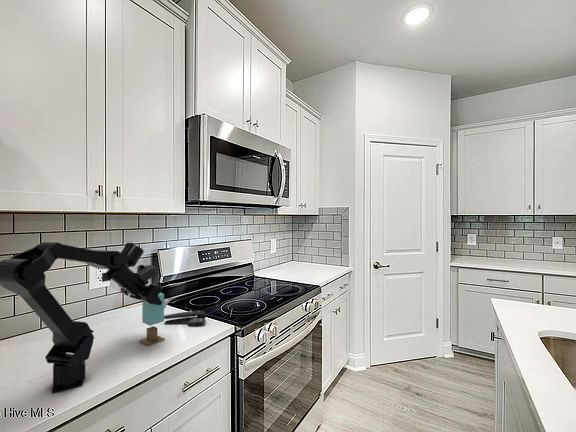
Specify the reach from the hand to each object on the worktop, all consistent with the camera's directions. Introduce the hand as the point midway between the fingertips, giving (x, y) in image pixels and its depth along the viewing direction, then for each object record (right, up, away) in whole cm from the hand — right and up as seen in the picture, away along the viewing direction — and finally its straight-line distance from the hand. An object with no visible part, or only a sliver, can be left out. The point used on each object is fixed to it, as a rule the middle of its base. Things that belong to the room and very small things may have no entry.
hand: (156, 302), depth 106 cm
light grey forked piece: (-9, -14, +24) cm, 29 cm away
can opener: (+5, -14, +16) cm, 22 cm away
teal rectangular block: (-1, -7, -1) cm, 7 cm away
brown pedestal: (-1, -14, -1) cm, 14 cm away
